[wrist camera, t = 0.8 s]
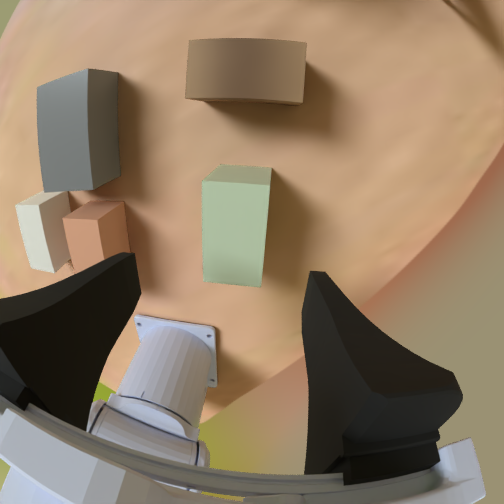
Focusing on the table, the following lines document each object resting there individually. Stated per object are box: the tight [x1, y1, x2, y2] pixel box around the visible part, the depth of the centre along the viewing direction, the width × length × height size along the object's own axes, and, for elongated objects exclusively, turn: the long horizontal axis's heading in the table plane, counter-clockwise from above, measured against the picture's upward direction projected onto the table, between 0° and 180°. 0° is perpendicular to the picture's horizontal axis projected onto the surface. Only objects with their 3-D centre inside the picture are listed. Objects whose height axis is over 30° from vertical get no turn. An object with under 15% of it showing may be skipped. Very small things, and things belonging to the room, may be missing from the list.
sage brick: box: [202, 164, 272, 287], centre depth 17 cm, size 6×3×5 cm, turn 177°
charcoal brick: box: [37, 69, 121, 193], centre depth 15 cm, size 8×5×4 cm, turn 178°
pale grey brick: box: [15, 190, 71, 273], centre depth 19 cm, size 6×3×4 cm, turn 177°
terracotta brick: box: [62, 201, 130, 274], centre depth 19 cm, size 6×3×4 cm, turn 177°
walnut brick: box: [185, 38, 307, 106], centre depth 13 cm, size 6×3×4 cm, turn 87°
